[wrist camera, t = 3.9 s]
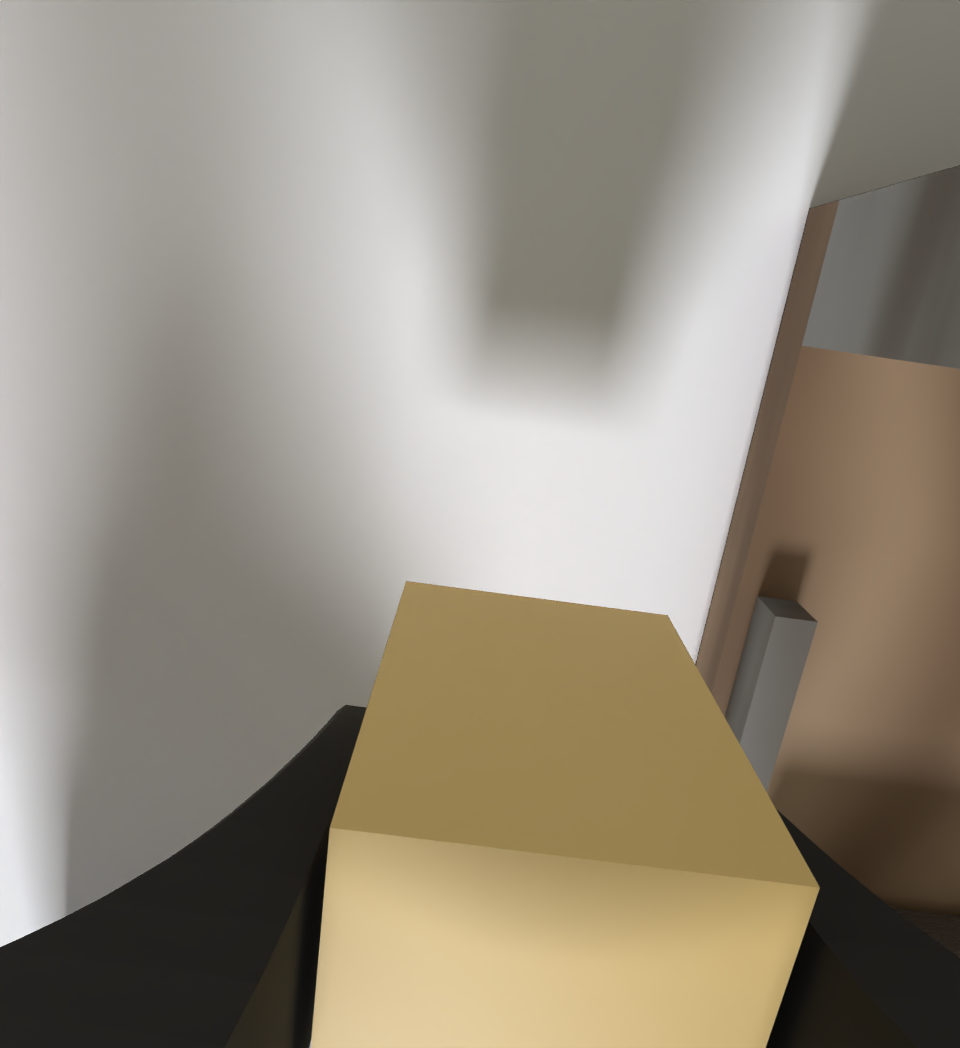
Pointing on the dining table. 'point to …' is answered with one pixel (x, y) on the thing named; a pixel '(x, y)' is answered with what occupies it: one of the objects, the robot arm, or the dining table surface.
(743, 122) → the dining table surface
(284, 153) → the dining table surface
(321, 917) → the robot arm
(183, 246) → the dining table surface
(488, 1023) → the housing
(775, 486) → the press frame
